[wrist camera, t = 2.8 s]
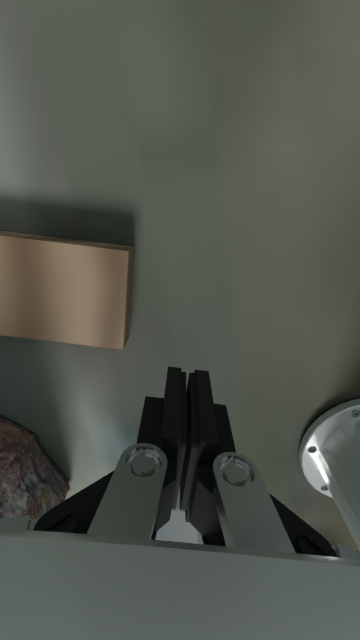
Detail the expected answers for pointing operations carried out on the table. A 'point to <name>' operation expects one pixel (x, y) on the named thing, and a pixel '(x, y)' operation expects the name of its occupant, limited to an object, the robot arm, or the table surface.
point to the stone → (27, 475)
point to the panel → (65, 290)
